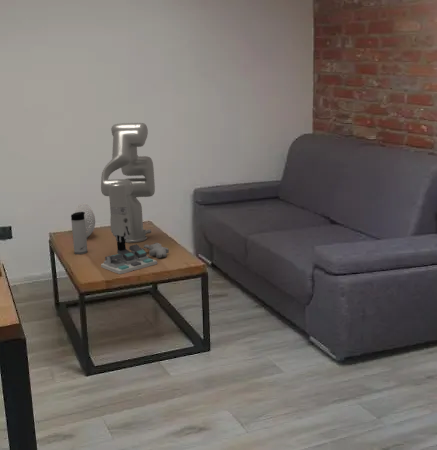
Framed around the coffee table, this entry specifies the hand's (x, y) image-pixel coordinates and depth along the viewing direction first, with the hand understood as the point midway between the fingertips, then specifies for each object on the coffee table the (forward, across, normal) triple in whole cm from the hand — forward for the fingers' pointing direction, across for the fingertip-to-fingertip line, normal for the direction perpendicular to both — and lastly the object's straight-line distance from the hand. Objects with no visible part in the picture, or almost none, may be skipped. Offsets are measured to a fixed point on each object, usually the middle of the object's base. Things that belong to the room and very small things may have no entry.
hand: (121, 249), depth 313 cm
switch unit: (+6, -5, 0) cm, 8 cm away
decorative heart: (+6, +54, -13) cm, 56 cm away
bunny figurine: (+7, 0, -19) cm, 20 cm away
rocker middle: (+1, -3, 0) cm, 3 cm away
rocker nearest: (+1, -3, -7) cm, 7 cm away
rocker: (+2, -3, +6) cm, 7 cm away
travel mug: (+6, +30, +4) cm, 31 cm away
